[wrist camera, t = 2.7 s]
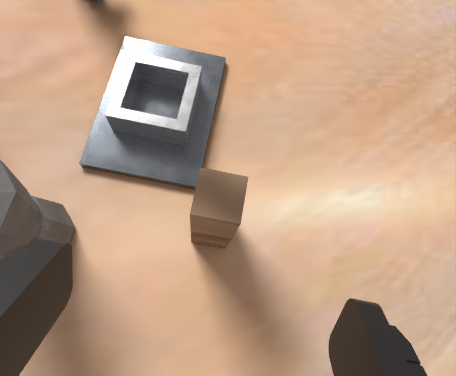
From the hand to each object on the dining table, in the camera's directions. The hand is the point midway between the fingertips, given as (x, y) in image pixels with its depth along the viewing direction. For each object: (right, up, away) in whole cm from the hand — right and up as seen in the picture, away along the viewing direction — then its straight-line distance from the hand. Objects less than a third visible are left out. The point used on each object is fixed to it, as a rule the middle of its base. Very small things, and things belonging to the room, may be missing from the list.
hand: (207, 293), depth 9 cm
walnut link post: (-2, -2, +34) cm, 34 cm away
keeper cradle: (-10, +15, +39) cm, 43 cm away
